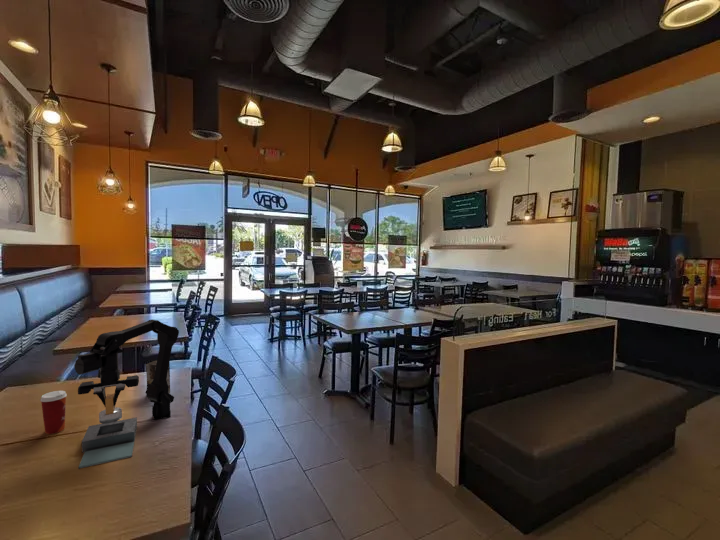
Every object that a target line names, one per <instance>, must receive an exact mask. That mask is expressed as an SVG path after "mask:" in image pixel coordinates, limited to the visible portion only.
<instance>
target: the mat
mask: <svg viewBox="0 0 720 540" xmlns="http://www.w3.org/2000/svg"><path fill="white" fill-rule="evenodd" d="M134 446H135V441H134V442H130V443H125V444H120V445H115V446H110V447H106V448H101V449H96V450H91V451H86V452H83V455H82V458H81V461H80V462H79V465H78V469H83V468H88V467H91V466H97V465H100V464H101V465H102V464H105V463H109V462H114V461H115V462H116V461H119V460H123V459H128V458H132V457H133V451H134Z"/></svg>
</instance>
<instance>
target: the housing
mask: <svg viewBox="0 0 720 540" xmlns="http://www.w3.org/2000/svg"><path fill="white" fill-rule="evenodd" d="M137 430H138V417H131V418H126V419H120V420H118V421H115V422H112V423H107V424H102V423H98V424H91V425H88V427H87V430H86V432H85V434H84V436H83V438H82V440H81V453H82V454H84V453H85V452H86V451H91V450H96V449H101V448H106V447H110V446H115V445H120V444H125V443H130V442H134V443H135V441H136V436H137Z"/></svg>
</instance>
